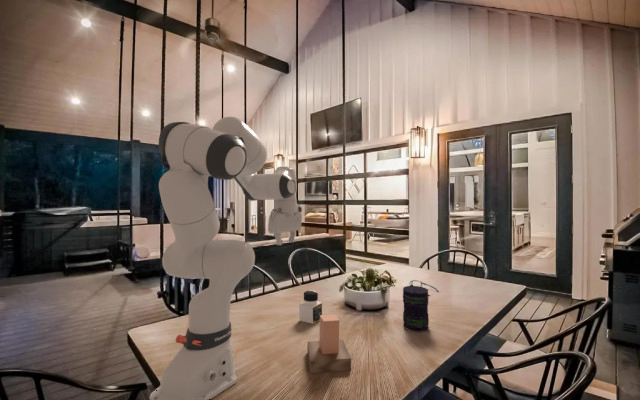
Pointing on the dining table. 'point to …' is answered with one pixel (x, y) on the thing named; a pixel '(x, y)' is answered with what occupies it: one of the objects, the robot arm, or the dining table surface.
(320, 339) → the terracotta block
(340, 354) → the walnut block
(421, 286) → the sunglasses
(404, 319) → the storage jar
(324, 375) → the dining table surface
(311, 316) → the medicine bottle
